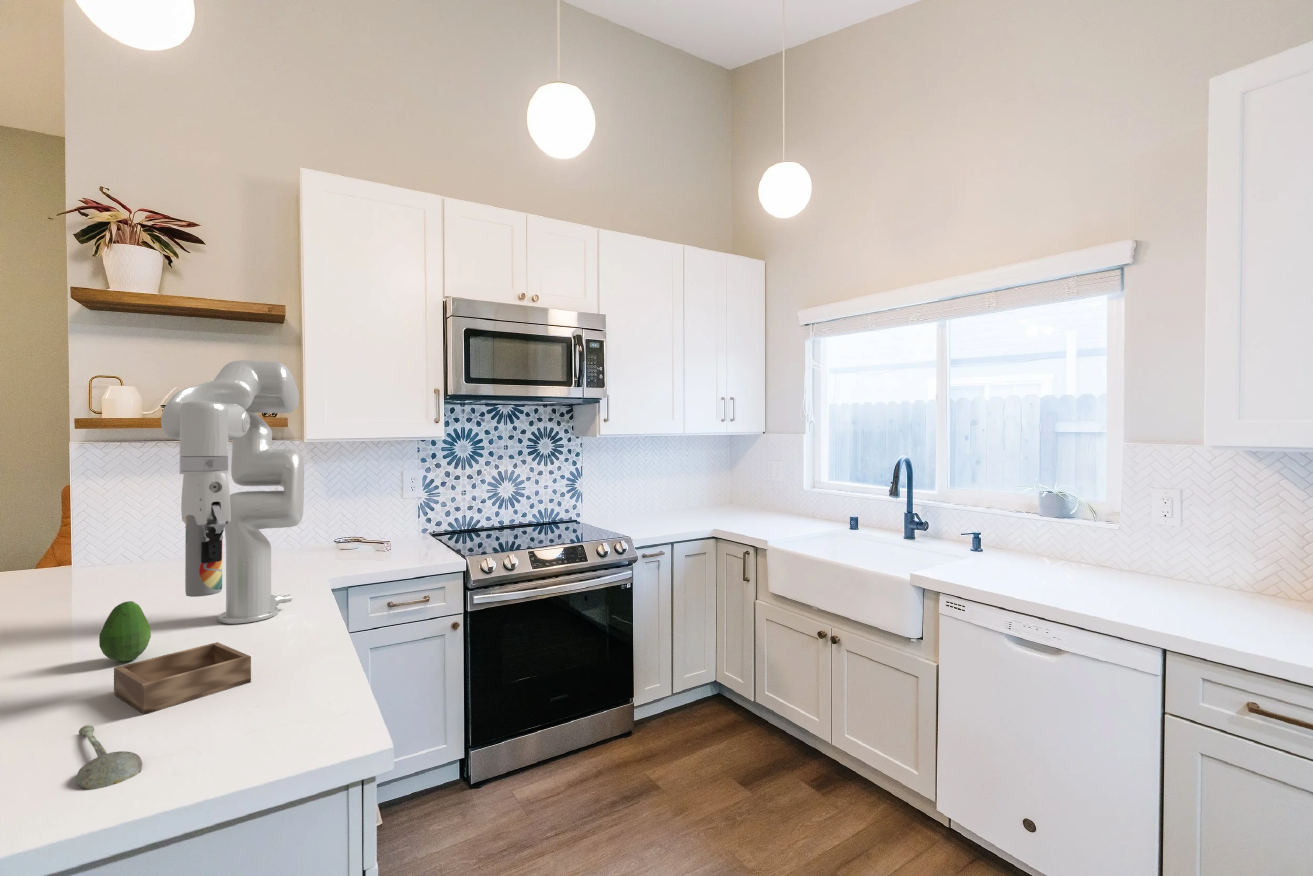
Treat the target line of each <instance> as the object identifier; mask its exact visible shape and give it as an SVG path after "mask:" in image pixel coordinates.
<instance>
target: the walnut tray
mask: <svg viewBox="0 0 1313 876" xmlns="http://www.w3.org/2000/svg"><path fill="white" fill-rule="evenodd" d="M249 683H252V656H251V655H249V654H247V653H243V652H242V651H239V650H238V649H235V648H233V647H230V646H227V645H225V644H222V643H220V642H218V641H217V642H213V643H209V644H205V645H204V644H203V645H201V646H200V645H199V646H196V647H193V648H188V649H184V650H180V651H176V652H172V653H171V652H170V653H168V654H164V655H159V656H156V657H151V658H148V659H147V658H146V659H144V660H139V661H136V662H132V663H127V664H124V665H119V666H115V667H113V695H114V696H115V697H117V698H118V699H120V700H121V701H123V702H124V703H126V704H127V705H129V706H130V707H131V708H133V709H134V710H137V711H138V712H140V713H141V714H142V715H147V714H150V713H154V712H157V711H161V710H164V709H166V708H167V709H168V708H170V707H174V706H177V705H181V704H184V703H187V702H189V701H193V700H197V699H200V698H203V697H207V696H209V695H213V694H217V693H219V692H222V691H226V690H230V689H233V688H236V687H240V686H242V685H246V684H249Z"/></svg>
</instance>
